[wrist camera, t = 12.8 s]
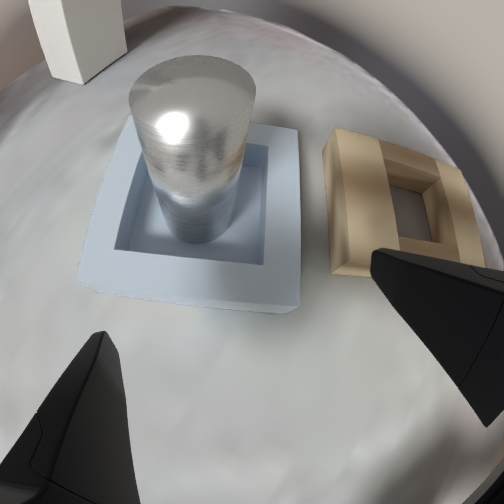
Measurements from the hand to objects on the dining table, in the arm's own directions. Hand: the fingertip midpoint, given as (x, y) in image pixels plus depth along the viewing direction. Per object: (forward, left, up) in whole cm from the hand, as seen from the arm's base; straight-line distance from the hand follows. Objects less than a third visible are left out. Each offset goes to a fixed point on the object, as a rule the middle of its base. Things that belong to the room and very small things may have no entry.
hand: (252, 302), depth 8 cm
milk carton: (+26, +20, -9) cm, 34 cm away
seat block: (+7, +3, -8) cm, 11 cm away
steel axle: (+7, +3, -8) cm, 11 cm away
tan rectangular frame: (+9, -13, -8) cm, 18 cm away
